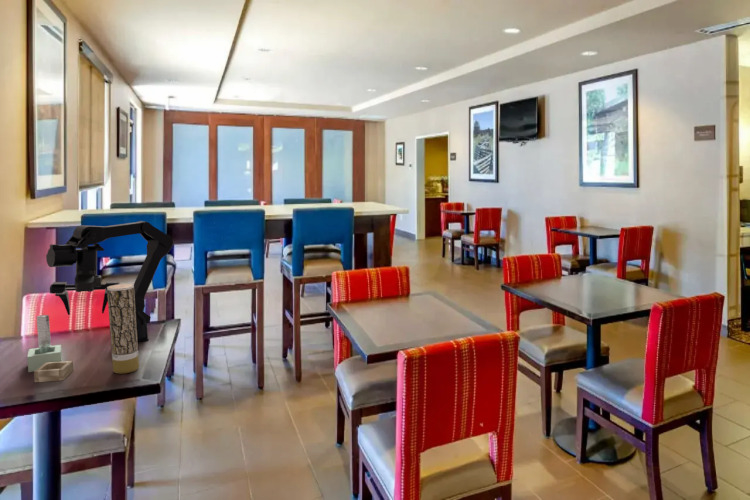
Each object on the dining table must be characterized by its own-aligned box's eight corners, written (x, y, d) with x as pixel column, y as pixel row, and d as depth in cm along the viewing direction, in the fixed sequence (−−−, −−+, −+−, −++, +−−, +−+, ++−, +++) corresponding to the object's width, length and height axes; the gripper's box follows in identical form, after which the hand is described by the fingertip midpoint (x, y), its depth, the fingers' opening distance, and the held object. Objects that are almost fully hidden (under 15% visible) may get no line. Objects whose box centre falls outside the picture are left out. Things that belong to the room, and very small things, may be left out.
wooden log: (121, 376, 134) (115, 289, 131) (108, 371, 138) (102, 287, 134) (144, 368, 140) (138, 285, 136) (130, 364, 143) (125, 283, 140)
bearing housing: (73, 370, 138) (72, 360, 138) (63, 380, 131) (62, 369, 131) (46, 372, 137) (45, 362, 136) (34, 382, 130) (33, 371, 129)
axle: (53, 359, 144) (50, 314, 142) (49, 363, 141) (46, 317, 139) (42, 360, 143) (39, 315, 142) (37, 363, 140) (34, 317, 139)
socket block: (62, 358, 148) (60, 344, 147) (61, 366, 141) (60, 352, 140) (30, 363, 144) (29, 349, 143) (28, 372, 137) (27, 357, 136)
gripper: (47, 268, 139) (47, 321, 140) (119, 268, 148) (119, 317, 149) (52, 264, 149) (52, 313, 150) (120, 264, 157) (119, 310, 158)
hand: (86, 313), depth 151 cm, fingers open, 9 cm apart
